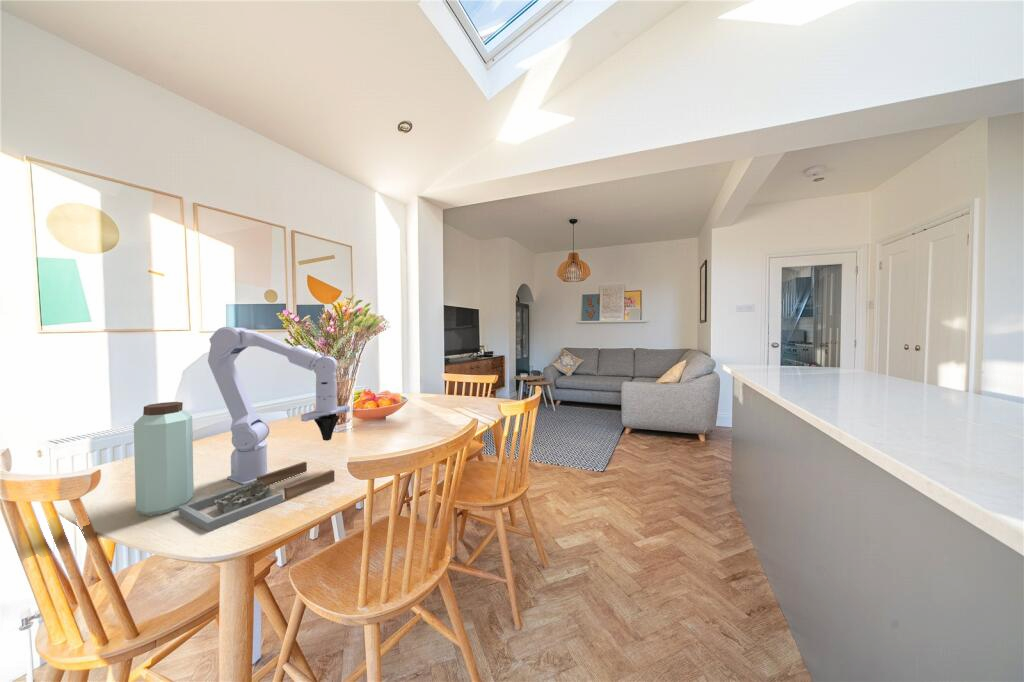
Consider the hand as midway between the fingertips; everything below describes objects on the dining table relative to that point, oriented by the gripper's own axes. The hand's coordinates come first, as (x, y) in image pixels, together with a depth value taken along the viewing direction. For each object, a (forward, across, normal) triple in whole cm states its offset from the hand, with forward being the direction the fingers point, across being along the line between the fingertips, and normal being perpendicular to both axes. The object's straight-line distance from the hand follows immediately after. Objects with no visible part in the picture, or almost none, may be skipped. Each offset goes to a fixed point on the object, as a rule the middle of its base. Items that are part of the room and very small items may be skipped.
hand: (327, 439), depth 108 cm
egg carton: (+10, -23, -2) cm, 25 cm away
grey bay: (+9, -26, -2) cm, 27 cm away
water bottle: (+10, -33, +13) cm, 37 cm away
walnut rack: (+9, -10, -2) cm, 14 cm away
